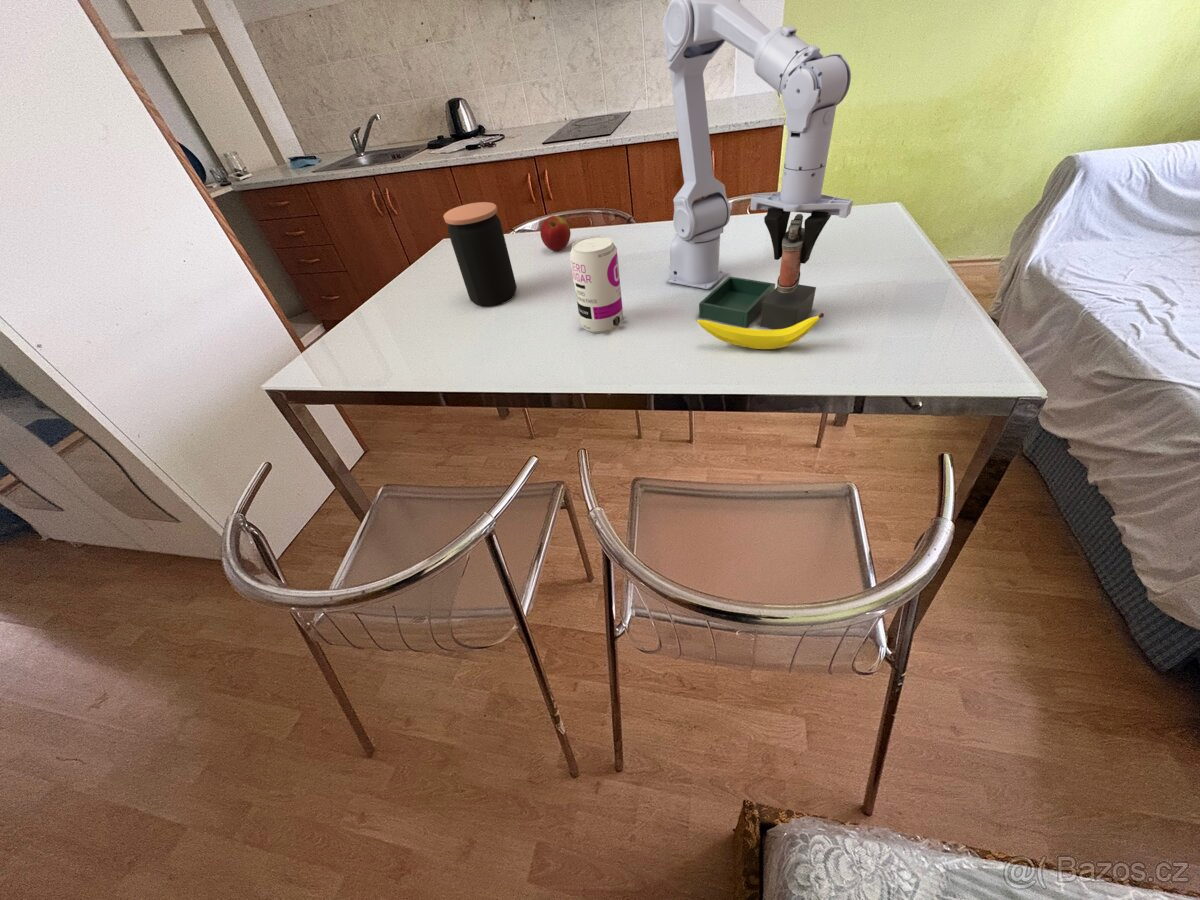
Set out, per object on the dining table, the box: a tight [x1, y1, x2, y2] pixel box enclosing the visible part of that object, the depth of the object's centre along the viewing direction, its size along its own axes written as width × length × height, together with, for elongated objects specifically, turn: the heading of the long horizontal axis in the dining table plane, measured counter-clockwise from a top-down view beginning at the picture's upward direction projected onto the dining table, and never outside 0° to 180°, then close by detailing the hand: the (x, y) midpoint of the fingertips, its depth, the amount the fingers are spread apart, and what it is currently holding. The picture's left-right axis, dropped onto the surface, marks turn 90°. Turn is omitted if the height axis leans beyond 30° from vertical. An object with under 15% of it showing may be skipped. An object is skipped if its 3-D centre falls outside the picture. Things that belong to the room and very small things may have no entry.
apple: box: [539, 215, 571, 252], centre depth 121 cm, size 8×8×8 cm
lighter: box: [776, 213, 804, 293], centre depth 78 cm, size 8×3×10 cm, turn 155°
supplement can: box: [569, 235, 624, 334], centre depth 87 cm, size 8×8×15 cm
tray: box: [698, 275, 776, 328], centre depth 89 cm, size 9×12×3 cm
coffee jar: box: [442, 201, 518, 308], centre depth 101 cm, size 11×11×18 cm
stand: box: [759, 283, 817, 330], centre depth 84 cm, size 6×8×4 cm
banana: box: [696, 312, 825, 350], centre depth 77 cm, size 3×19×6 cm, turn 75°
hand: (791, 259), depth 78 cm, fingers closed on lighter, 4 cm apart
